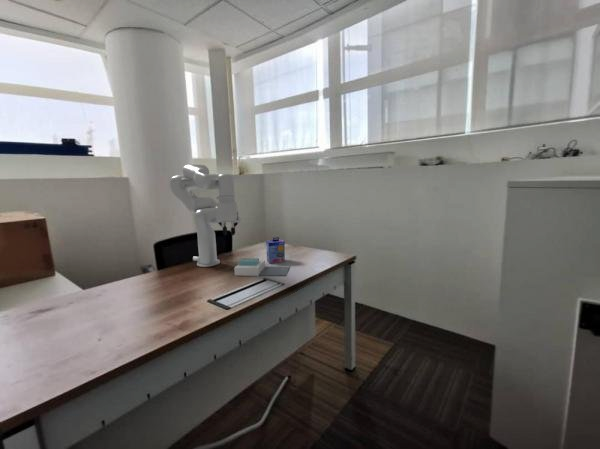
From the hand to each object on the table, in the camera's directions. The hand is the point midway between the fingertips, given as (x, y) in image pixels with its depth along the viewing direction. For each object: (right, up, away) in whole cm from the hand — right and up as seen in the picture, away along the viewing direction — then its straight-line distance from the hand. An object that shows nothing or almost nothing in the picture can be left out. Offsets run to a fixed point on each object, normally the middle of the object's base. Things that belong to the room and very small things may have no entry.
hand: (229, 234), depth 142 cm
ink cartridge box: (+22, -16, +19) cm, 33 cm away
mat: (+24, -19, 0) cm, 30 cm away
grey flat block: (+11, -19, +2) cm, 22 cm away
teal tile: (+10, -15, +1) cm, 18 cm away
